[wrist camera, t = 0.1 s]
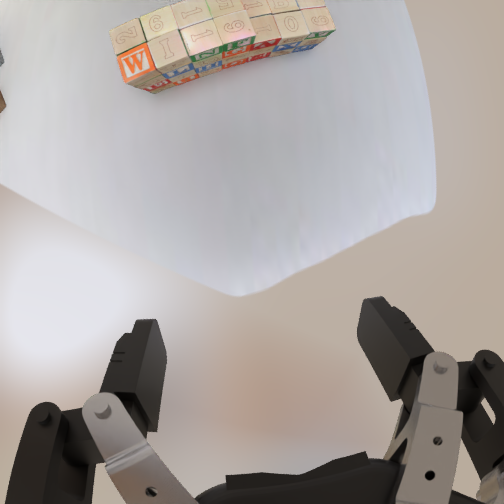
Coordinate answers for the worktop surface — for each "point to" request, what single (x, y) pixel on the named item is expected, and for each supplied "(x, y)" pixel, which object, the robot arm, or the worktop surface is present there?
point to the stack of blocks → (214, 38)
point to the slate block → (1, 58)
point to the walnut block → (2, 103)
